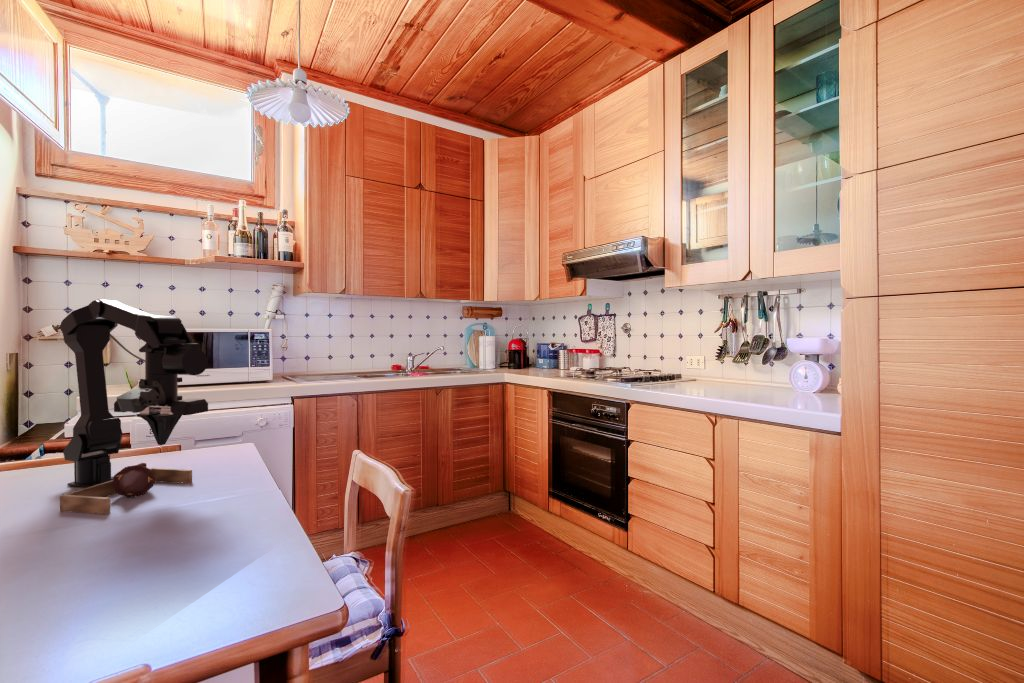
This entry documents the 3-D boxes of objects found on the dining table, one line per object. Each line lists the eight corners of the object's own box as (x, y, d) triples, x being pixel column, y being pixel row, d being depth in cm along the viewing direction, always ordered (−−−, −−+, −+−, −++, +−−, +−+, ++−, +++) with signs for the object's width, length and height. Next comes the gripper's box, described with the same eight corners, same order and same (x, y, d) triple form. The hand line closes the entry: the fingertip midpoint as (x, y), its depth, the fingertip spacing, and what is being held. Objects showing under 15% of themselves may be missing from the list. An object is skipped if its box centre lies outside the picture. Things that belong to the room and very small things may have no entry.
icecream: (154, 472, 100) (164, 461, 113) (110, 467, 97) (126, 457, 110) (143, 506, 99) (155, 492, 112) (98, 503, 95) (116, 488, 109)
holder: (60, 510, 95) (59, 495, 95) (152, 480, 115) (152, 467, 115) (106, 514, 93) (106, 499, 93) (192, 482, 114) (192, 469, 114)
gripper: (87, 375, 99) (87, 451, 99) (165, 378, 95) (165, 456, 96) (138, 371, 110) (138, 439, 110) (210, 373, 106) (210, 443, 107)
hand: (161, 444), depth 105 cm, fingers closed
